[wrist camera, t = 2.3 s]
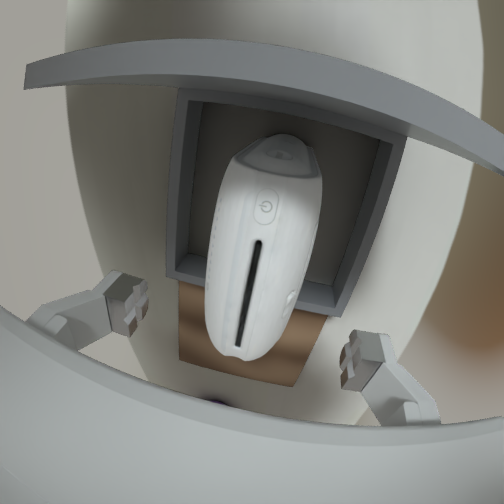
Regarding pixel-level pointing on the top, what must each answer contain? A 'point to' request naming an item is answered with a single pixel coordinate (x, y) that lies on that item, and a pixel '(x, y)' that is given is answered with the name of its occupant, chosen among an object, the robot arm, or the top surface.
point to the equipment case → (287, 102)
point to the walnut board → (262, 369)
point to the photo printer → (261, 244)
